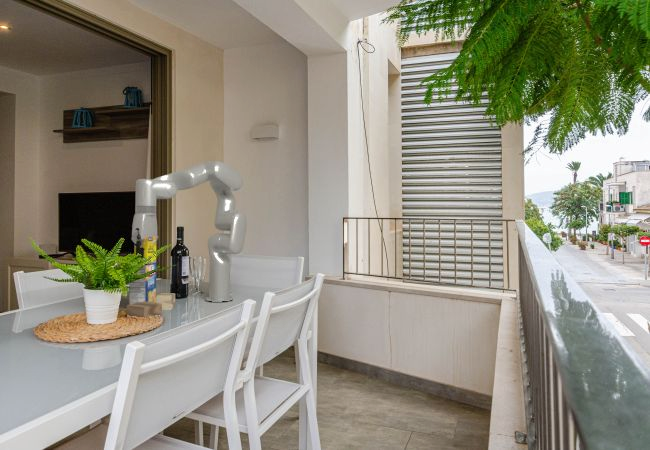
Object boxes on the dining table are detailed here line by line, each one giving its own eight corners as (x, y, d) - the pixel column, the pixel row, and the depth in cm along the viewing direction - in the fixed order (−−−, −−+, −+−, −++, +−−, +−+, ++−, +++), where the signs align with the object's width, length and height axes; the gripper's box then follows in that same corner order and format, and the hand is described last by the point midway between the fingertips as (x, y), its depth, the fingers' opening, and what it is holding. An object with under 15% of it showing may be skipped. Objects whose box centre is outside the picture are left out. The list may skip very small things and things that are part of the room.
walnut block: (144, 313, 177) (144, 301, 177) (161, 316, 174) (161, 303, 174) (126, 318, 169) (126, 305, 169) (144, 320, 165) (144, 307, 165)
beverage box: (129, 309, 184) (129, 256, 184) (140, 304, 195) (141, 254, 195) (145, 309, 184) (145, 257, 184) (155, 304, 195) (156, 255, 195)
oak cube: (160, 307, 190) (161, 293, 190) (174, 307, 190) (175, 293, 190) (156, 309, 184) (156, 295, 184) (170, 310, 184) (170, 295, 184)
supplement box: (147, 265, 168) (147, 237, 167) (133, 265, 169) (133, 236, 169) (156, 264, 173) (156, 236, 173) (143, 263, 175) (143, 236, 174)
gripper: (150, 211, 180) (150, 255, 180) (122, 210, 163) (122, 258, 163) (167, 211, 178) (166, 255, 179) (140, 210, 162) (139, 259, 162)
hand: (145, 256), depth 171 cm, fingers closed on supplement box, 6 cm apart
